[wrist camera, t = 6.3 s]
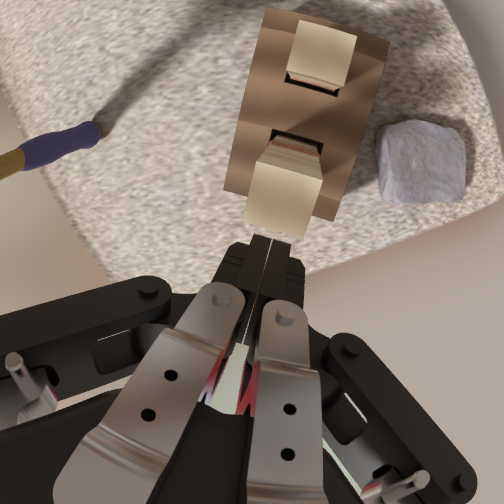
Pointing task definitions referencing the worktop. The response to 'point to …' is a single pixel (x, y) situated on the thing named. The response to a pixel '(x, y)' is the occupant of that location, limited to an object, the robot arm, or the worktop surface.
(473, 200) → the worktop surface
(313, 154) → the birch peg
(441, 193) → the stone block
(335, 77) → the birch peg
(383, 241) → the worktop surface
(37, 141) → the rubber mallet
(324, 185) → the wooden mortise block
